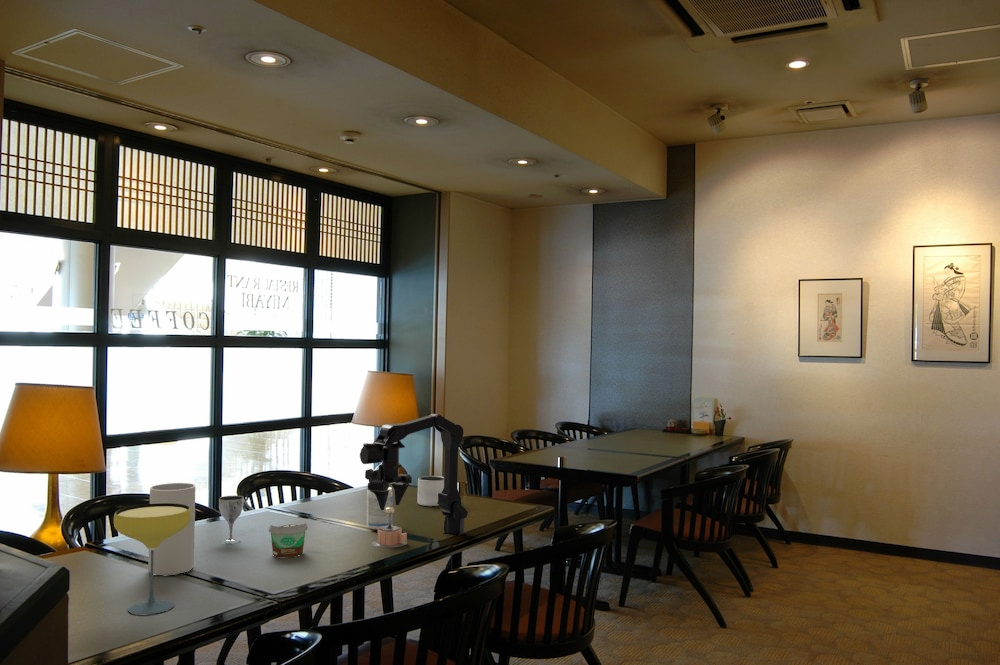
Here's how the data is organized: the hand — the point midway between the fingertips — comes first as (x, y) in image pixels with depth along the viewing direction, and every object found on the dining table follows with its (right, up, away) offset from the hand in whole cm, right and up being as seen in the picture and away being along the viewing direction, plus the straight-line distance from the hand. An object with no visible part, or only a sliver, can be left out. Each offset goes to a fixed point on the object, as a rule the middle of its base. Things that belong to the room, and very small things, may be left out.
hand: (389, 507), depth 267 cm
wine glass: (-55, -12, +1) cm, 56 cm away
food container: (-30, -12, -16) cm, 36 cm away
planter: (+8, -14, +69) cm, 71 cm away
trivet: (0, -13, 0) cm, 13 cm away
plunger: (0, -8, 0) cm, 8 cm away
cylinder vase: (-60, -12, -34) cm, 70 cm away
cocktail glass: (-52, -11, -67) cm, 85 cm away
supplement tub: (-7, -13, +24) cm, 28 cm away
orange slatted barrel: (0, -12, 0) cm, 12 cm away
